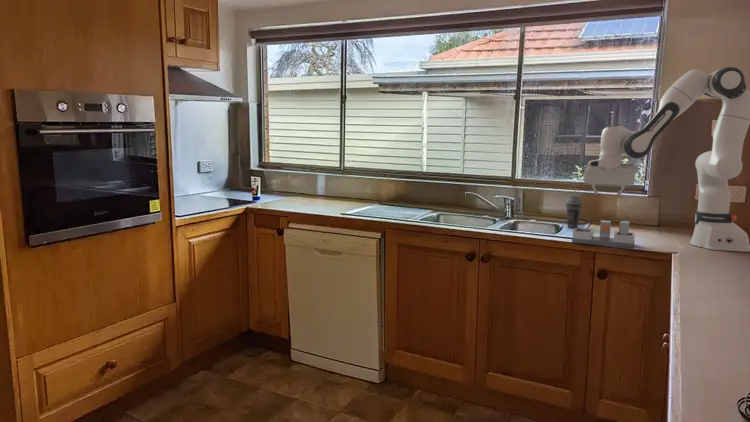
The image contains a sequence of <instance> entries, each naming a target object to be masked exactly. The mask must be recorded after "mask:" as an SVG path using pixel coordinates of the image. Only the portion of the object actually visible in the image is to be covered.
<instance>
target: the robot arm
mask: <svg viewBox="0 0 750 422" xmlns="http://www.w3.org/2000/svg"><path fill="white" fill-rule="evenodd" d="M745 81H746V79H745V75H744V72H743V71H742V70H740V69H739V68H737V67H733V66H726V67H723V68H719V69H716V70H715V71H713V72H711V73H709V74H707V73H704V71H702V70H700V69H691V70H689V71H687V72H686V73H684V74H683V75H682V76H680V77H679V78H678V79H677V80H675V82H674V83H672V84H671V86H669V88H668V89H667V90H666V91H665V93H664V94H663V95H662V97H661V98H660V100H659V103H658V104H659V105H658V110H657V112H656V113H655V114H654V116H653V117H652V118H651V119H650V120H649V121H648V122H647V123H646V124H645V126H644V127H643V128H642V129H641V130H639V131H637V132H635V131H633V130H630V129H628V128H626V127H625V126H623V125H622V124H613V125H612V124H611V125H608V126H606V127H604V128H603V129H602V131H601V134H600V135H601V137H600V144H599V146H600V152H599V156H598V158H595V159H592V160H589V161H588V162H587V167H586V168H585V170H584V175H583V181H582V182H584V184H591V188H592V190H593V195H598V194H599V192H598V191H599V190H598V189H596V184H597V185H613V186H614V185H615V186H620V188H621V189H620V190H618V191H617V197H618V196H621V197H622V192H623V191H624V189H625V187H626V186H629V187H630V186H631V187H632V186H633V185H635V174H636V173H637V166H636V165H635V164H633V163H623V162H622V158H623V154H624V155H625V154H626V155H627V156H628V157H630V158H634V159H641V158H644V157H646V156H648V154H649V153H650V151H651V150H652V148H653V146H654V145H653V144H654V142H655V140H656V139H657V137H659V135H660V134H661V133H662V132H663V131H664V130H665V129H666V128H667V127H668V126H669V124H671V122H672V121H674V120H675V119H676V118H678V117H679V116H681V115H682V114H683V113H685V112H686V111H687V110H688V109H689V108H690V107H691V106H692V105H693V104H694V103H695V102H696V101H697V100H698V99H699V98H700V97H702V96H703V95H705V96H708V97H711V98H715V99H718V98H719V99H720V98H721V102H722V103H721V105H722V106H721V110H720V112H719V115H718V117H717V119H716V120H717V121H716V123H715V126H714V129H713V131H712V146H711V150H709V151H705V152H703V153H701V154H700V155H698V156H697V158H696V160H695V163H694V165H695V169H696V174H697V184H698V200H697V209H696V211H695V215H694V224H695V225H694V230H693V233H692V237H691V238H690V241H689V244H690V245H692V246H695V247H700V248H704V249H707V250H710V251H711V250H712V251H725V252H726V251H727V252H729V251H730V252H744V253H745V252H747V253H750V241H749V236H748V234H747V232H746V231H745V230H743V228H741V227H740V226H739V225H737V224H736V223H734V222H735V221H737V219H738V217H737V215H734V214H732V213H731V212H730V206H731V205H730V204H731V195H732V194H731V191H730V188H729V187H730V186H729V182H728V180H731V179H734V178H736V177H738V176H739V175H740V174H741V173H742V170H743V161H742V156H743V147H744V142H745V138H746V135H747V132H748V130H749V127H750V91H749V90H747V84H746V82H745Z"/></svg>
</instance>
